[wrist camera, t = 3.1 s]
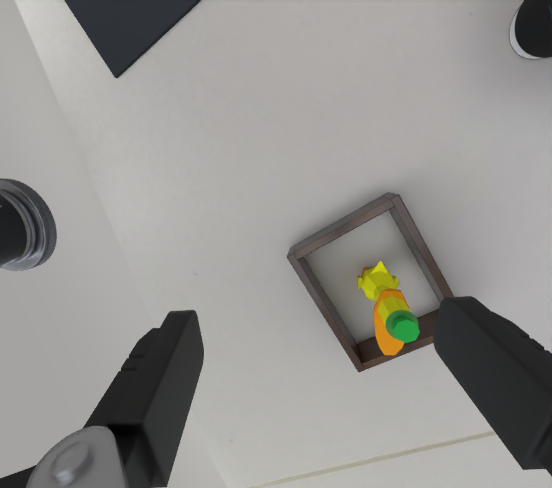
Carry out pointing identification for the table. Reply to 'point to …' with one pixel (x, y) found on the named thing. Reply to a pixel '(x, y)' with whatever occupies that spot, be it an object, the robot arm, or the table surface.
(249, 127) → the table surface
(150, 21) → the rubber pad
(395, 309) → the toy figure
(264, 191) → the table surface
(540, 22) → the dixie cup
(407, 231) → the tray box
